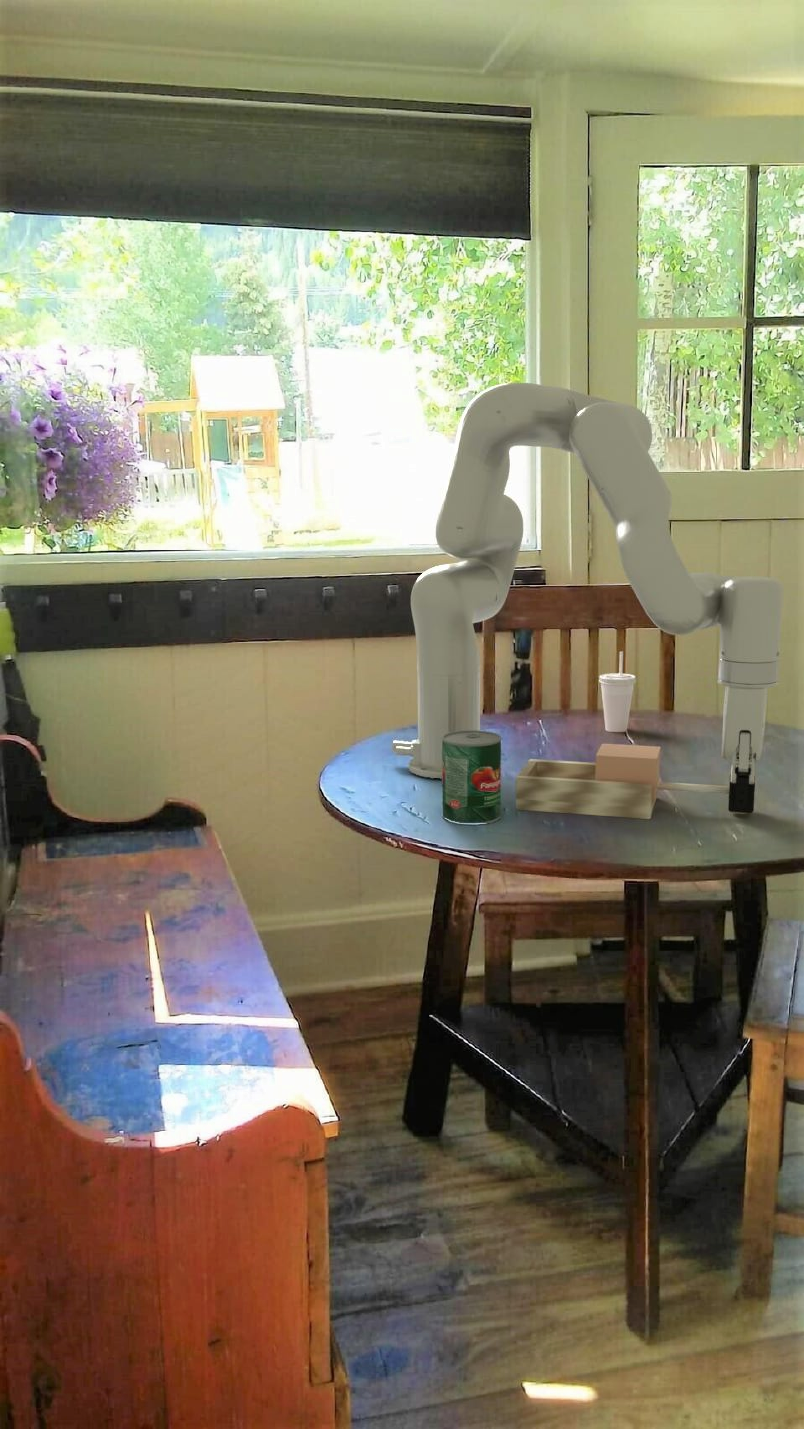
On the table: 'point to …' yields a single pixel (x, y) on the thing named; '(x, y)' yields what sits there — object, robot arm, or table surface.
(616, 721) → the smoothie
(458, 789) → the canned tomato
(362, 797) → the table surface
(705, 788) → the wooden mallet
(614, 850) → the table surface
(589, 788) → the wooden tray
